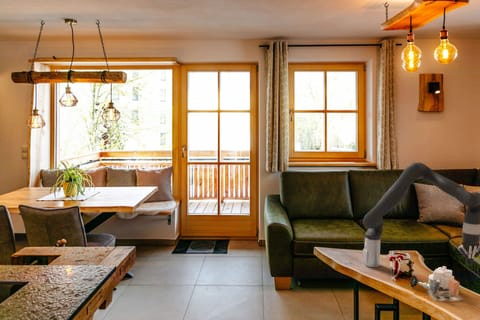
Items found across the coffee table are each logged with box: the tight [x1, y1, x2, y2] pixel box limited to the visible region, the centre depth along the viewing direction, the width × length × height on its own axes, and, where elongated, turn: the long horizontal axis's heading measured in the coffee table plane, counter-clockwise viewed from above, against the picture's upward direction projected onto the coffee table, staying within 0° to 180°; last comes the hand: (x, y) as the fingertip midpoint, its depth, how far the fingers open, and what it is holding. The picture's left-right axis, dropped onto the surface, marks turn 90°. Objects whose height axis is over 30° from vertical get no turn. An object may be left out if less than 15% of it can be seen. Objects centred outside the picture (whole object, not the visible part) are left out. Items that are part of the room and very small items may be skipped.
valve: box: [409, 275, 431, 294], centre depth 195 cm, size 7×7×12 cm
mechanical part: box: [428, 265, 455, 291], centre depth 198 cm, size 11×12×12 cm
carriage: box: [447, 279, 461, 297], centre depth 187 cm, size 3×5×7 cm, turn 2°
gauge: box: [428, 280, 465, 302], centre depth 186 cm, size 14×6×8 cm, turn 92°
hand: (469, 265), depth 187 cm, fingers closed
